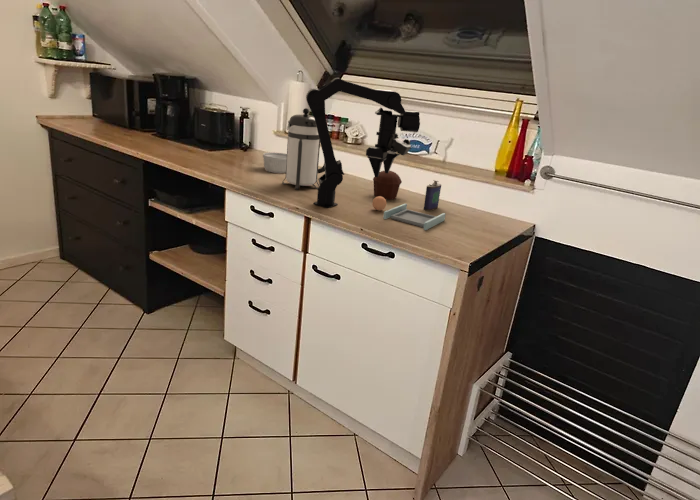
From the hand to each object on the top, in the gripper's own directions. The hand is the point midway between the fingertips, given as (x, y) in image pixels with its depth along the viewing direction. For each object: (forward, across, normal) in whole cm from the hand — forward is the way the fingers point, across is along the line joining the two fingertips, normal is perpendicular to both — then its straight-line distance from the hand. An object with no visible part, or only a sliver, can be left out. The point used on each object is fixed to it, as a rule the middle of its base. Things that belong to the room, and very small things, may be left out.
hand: (381, 175), depth 172 cm
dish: (+12, -3, -15) cm, 20 cm away
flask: (+12, +16, -15) cm, 25 cm away
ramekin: (+13, +23, +58) cm, 64 cm away
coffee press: (+12, +8, +36) cm, 39 cm away
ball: (+10, -2, -1) cm, 10 cm away
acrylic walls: (+12, -3, -15) cm, 20 cm away
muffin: (+12, +19, +5) cm, 23 cm away
